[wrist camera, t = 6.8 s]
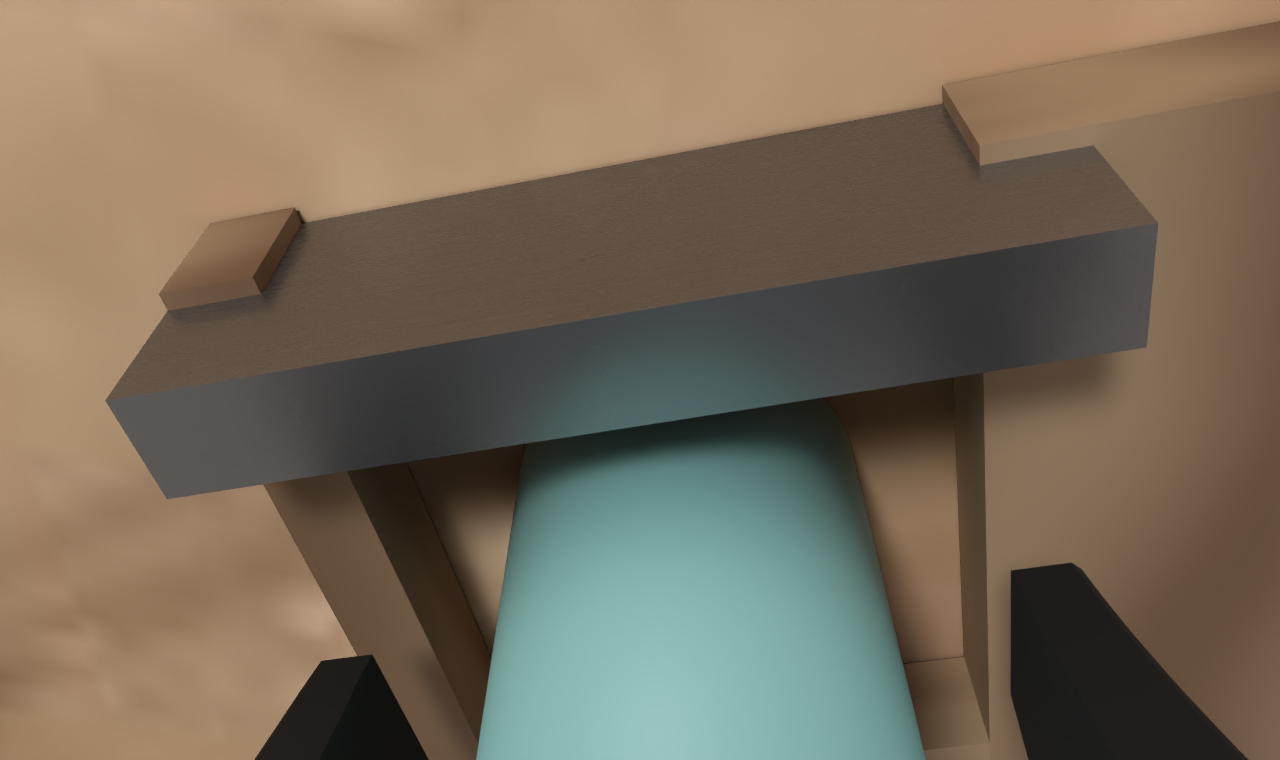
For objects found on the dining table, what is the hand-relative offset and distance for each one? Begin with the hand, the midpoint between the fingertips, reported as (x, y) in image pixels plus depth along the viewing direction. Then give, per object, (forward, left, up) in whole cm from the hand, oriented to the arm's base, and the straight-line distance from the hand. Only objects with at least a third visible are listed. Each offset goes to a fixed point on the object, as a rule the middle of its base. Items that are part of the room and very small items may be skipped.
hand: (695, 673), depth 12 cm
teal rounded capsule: (0, 0, -3) cm, 3 cm away
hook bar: (0, -4, -3) cm, 5 cm away
